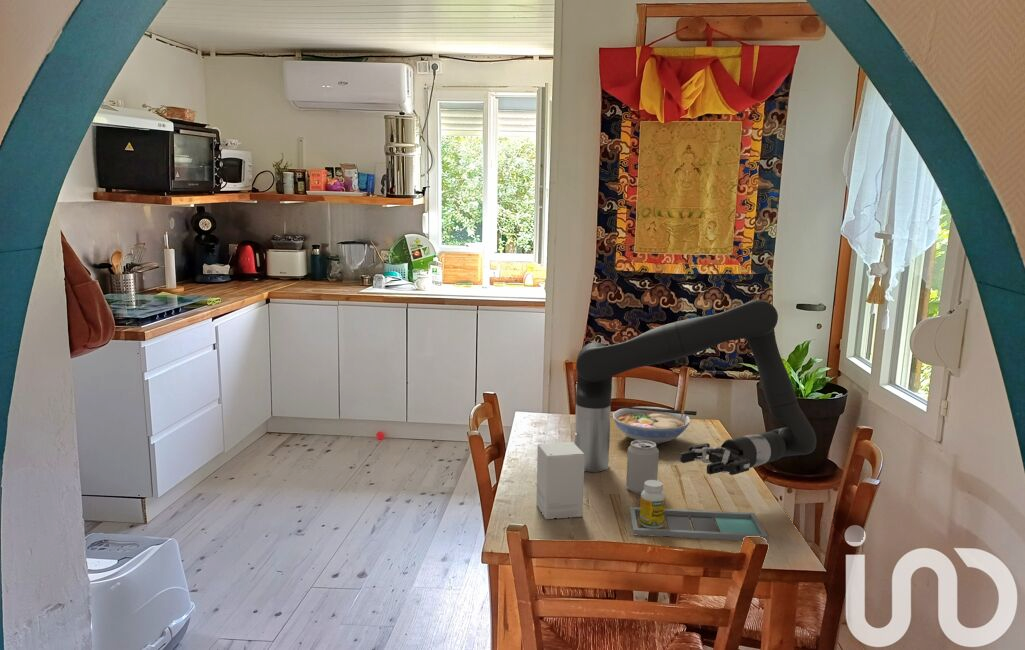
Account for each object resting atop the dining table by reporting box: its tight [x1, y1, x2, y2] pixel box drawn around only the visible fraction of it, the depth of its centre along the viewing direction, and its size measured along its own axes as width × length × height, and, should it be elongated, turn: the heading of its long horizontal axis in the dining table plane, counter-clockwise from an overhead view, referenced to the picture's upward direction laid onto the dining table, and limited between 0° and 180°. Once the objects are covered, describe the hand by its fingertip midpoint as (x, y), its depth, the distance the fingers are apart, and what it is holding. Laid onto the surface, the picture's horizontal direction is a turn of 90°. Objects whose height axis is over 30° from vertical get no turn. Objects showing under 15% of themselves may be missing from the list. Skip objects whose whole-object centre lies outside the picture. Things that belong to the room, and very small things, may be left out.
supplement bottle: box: [639, 479, 666, 529], centre depth 166 cm, size 5×5×10 cm
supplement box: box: [536, 441, 585, 520], centre depth 172 cm, size 9×9×15 cm
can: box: [625, 439, 660, 495], centre depth 185 cm, size 8×8×12 cm
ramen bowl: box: [612, 405, 697, 445], centre depth 223 cm, size 25×23×8 cm
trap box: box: [628, 506, 769, 541], centre depth 166 cm, size 28×12×1 cm, turn 86°
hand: (694, 463), depth 170 cm, fingers open, 8 cm apart
